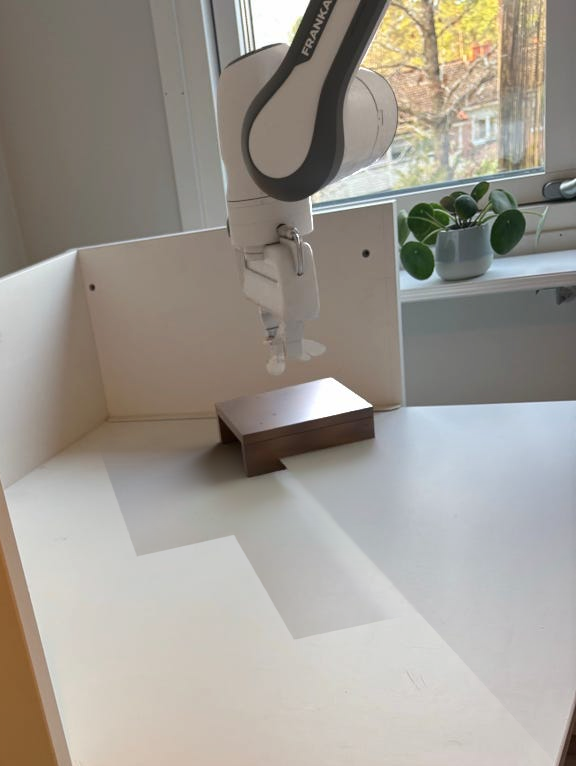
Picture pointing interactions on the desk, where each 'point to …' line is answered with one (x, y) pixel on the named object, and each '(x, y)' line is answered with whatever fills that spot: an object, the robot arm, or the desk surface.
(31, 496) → the desk surface
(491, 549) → the desk surface
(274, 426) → the display shelf
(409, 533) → the desk surface
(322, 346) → the fairy figurine
